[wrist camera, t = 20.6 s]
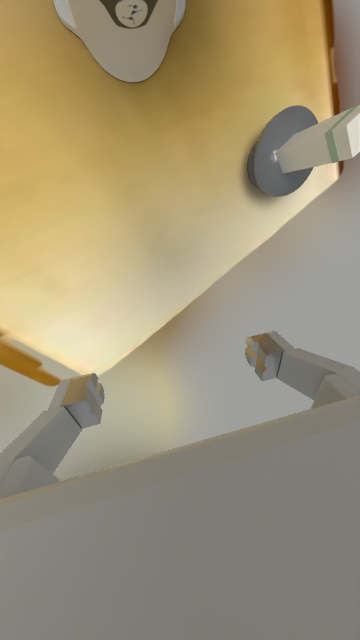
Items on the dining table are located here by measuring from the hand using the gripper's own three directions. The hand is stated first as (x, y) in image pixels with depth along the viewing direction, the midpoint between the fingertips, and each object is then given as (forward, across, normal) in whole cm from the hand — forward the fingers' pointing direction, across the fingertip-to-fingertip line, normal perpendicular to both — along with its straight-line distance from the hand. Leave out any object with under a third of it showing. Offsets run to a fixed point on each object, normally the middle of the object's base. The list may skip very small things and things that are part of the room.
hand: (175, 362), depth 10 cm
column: (+34, -30, -12) cm, 47 cm away
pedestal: (+41, -30, -12) cm, 52 cm away
